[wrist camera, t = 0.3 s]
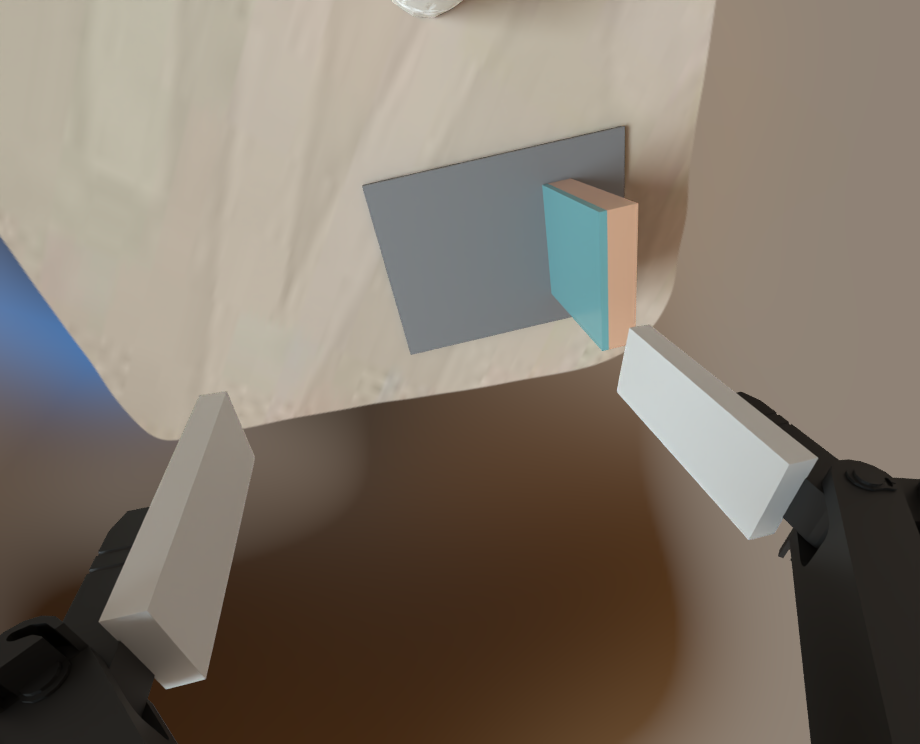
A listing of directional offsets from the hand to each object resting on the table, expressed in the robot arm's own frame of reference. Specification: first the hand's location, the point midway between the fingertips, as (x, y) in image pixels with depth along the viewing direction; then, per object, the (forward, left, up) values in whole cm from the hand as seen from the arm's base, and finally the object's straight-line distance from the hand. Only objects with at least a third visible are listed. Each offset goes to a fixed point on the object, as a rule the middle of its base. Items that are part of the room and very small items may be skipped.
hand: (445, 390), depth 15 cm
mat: (+2, +9, -27) cm, 29 cm away
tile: (0, +14, -27) cm, 30 cm away
